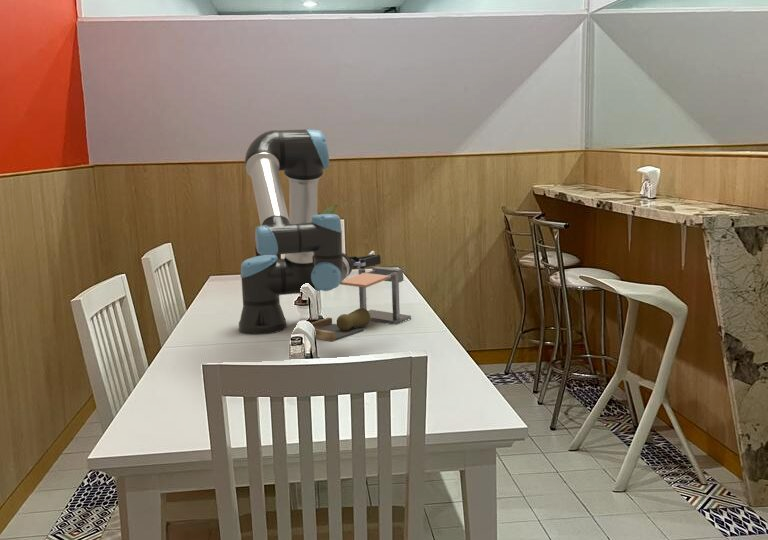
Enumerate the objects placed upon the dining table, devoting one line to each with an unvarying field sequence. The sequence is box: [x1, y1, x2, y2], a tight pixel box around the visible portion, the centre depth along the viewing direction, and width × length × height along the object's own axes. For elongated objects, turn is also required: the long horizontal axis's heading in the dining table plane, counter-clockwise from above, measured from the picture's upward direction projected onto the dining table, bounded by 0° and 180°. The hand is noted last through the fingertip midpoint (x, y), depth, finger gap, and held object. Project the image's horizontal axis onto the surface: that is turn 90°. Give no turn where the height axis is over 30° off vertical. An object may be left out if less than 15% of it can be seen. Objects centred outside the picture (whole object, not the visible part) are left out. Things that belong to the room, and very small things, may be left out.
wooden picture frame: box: [311, 316, 337, 342], centre depth 231 cm, size 15×14×2 cm
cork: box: [336, 307, 371, 331], centre depth 234 cm, size 6×6×11 cm
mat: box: [318, 323, 365, 341], centre depth 232 cm, size 13×13×1 cm
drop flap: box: [339, 265, 405, 289], centre depth 242 cm, size 19×12×4 cm, turn 141°
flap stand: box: [357, 268, 412, 325], centre depth 246 cm, size 9×17×16 cm, turn 51°
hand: (351, 255), depth 225 cm, fingers open, 13 cm apart
